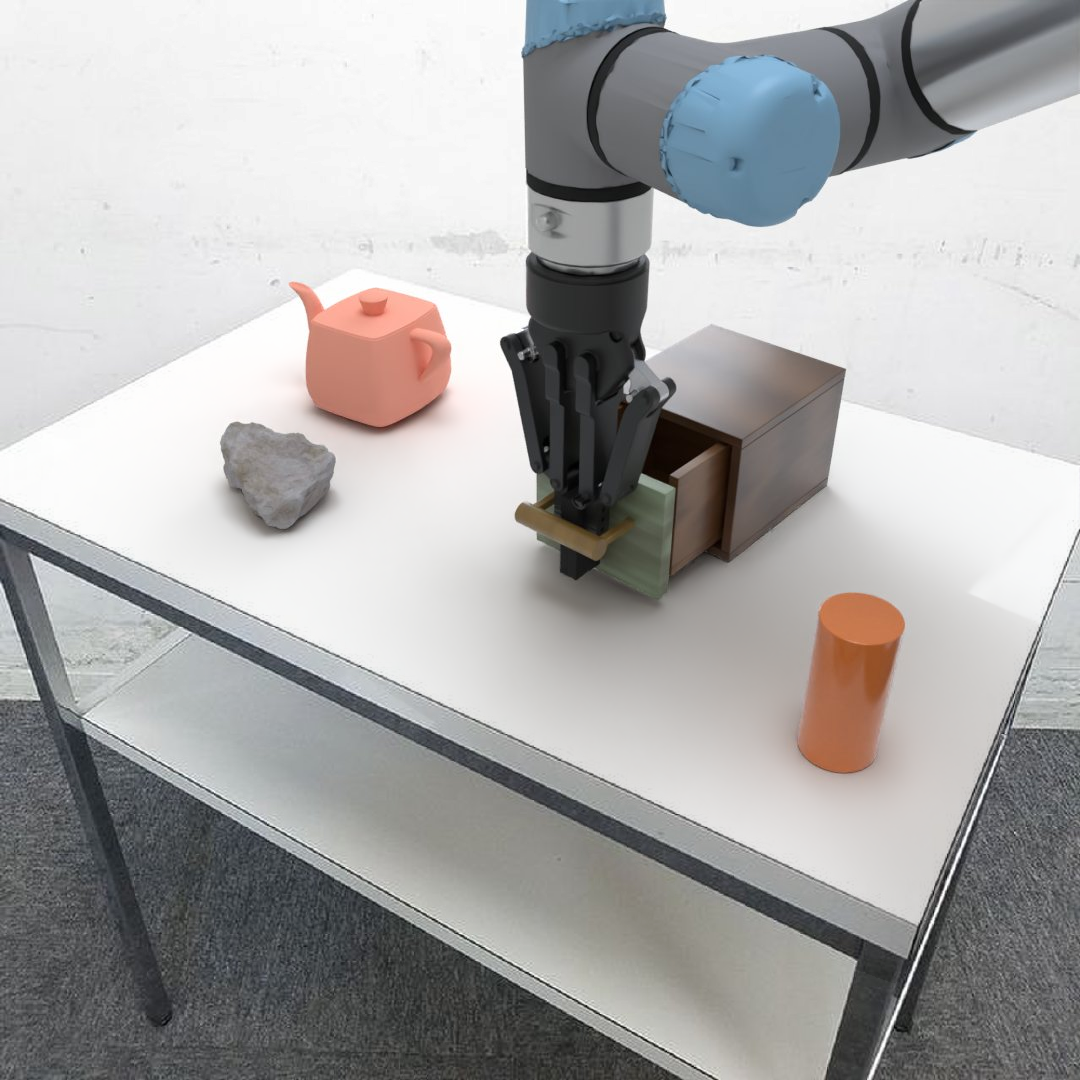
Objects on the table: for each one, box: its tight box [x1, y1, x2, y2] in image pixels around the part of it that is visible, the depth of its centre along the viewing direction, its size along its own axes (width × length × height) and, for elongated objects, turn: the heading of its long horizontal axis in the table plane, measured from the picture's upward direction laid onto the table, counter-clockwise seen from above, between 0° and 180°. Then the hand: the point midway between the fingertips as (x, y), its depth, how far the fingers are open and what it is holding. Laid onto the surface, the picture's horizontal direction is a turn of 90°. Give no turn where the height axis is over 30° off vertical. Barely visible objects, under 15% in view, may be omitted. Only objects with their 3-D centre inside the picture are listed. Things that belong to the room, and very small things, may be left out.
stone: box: [219, 421, 337, 530], centre depth 94 cm, size 10×8×6 cm
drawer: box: [514, 402, 732, 600], centre depth 87 cm, size 18×11×9 cm, turn 139°
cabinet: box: [621, 323, 847, 563], centre depth 94 cm, size 15×13×11 cm
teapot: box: [288, 281, 452, 428], centre depth 107 cm, size 12×18×10 cm, turn 57°
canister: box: [796, 592, 906, 774], centre depth 70 cm, size 5×5×10 cm
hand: (580, 567), depth 85 cm, fingers closed
